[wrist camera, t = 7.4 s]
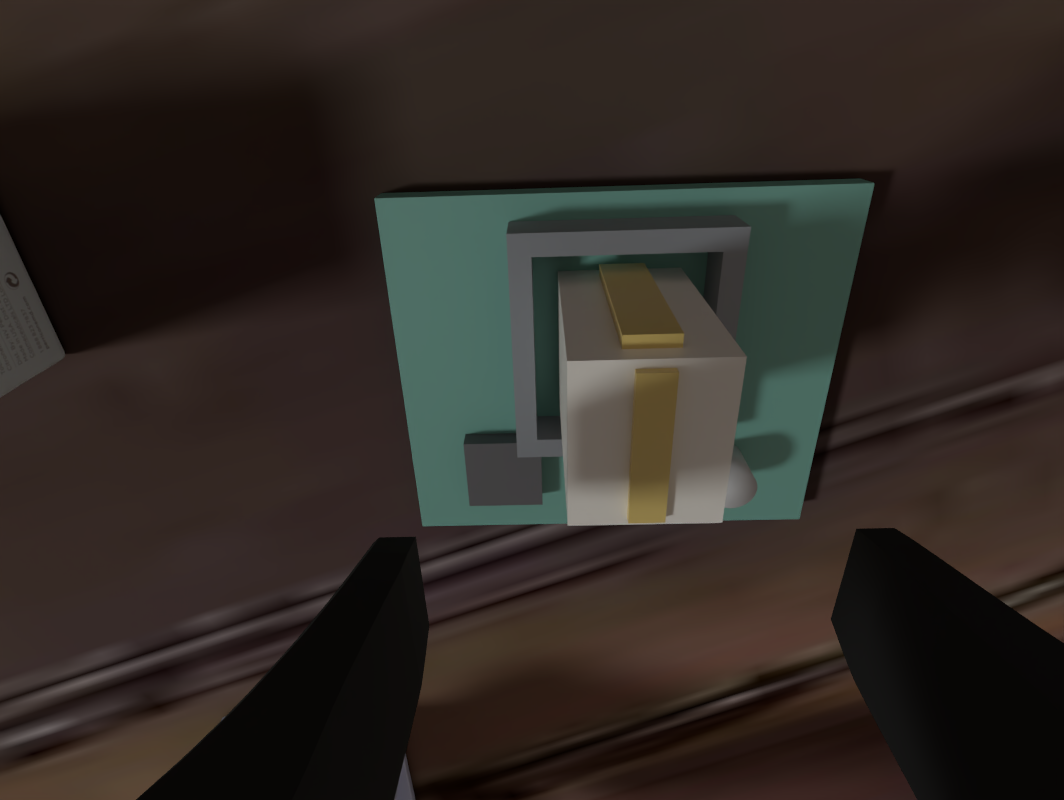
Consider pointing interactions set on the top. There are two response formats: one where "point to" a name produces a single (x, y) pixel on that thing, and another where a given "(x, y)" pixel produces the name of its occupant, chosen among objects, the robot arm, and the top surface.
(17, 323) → the small box
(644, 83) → the top surface
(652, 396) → the plug
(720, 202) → the board
